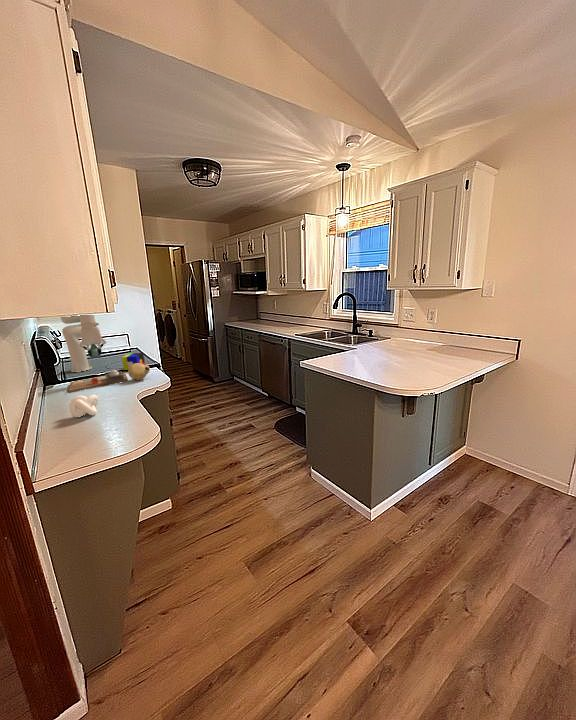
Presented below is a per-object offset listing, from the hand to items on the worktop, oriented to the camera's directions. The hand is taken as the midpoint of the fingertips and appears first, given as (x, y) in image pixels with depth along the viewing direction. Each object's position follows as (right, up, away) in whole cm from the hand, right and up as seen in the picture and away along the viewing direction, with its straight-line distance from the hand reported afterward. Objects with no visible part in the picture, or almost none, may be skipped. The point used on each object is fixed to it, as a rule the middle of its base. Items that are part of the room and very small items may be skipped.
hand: (95, 355), depth 194 cm
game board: (+2, -17, +1) cm, 17 cm away
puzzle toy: (+11, -9, +27) cm, 31 cm away
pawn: (0, -1, 0) cm, 1 cm away
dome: (+11, -13, +1) cm, 17 cm away
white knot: (+22, -29, -45) cm, 57 cm away
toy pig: (+26, -15, +3) cm, 30 cm away
